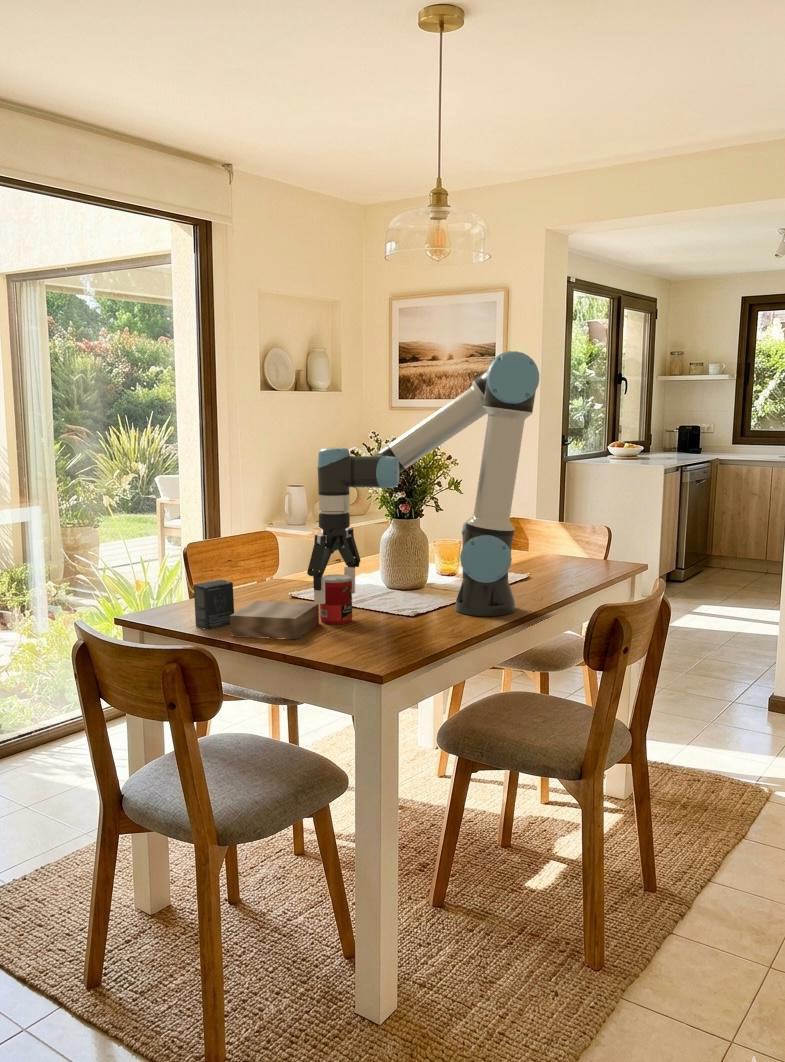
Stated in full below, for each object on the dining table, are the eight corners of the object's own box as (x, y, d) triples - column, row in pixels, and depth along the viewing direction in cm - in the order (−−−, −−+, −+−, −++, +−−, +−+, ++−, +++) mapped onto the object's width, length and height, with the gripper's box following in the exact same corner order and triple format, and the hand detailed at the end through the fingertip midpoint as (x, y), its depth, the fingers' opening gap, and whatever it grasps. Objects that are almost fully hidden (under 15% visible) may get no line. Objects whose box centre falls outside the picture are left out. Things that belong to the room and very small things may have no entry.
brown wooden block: (318, 623, 222) (318, 603, 222) (296, 640, 207) (295, 618, 206) (257, 620, 226) (256, 600, 226) (230, 636, 211) (229, 615, 210)
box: (222, 620, 227) (220, 579, 225) (235, 624, 223) (233, 582, 221) (194, 626, 221) (193, 583, 220) (207, 630, 217) (205, 586, 216)
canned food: (348, 625, 220) (347, 580, 219) (316, 624, 222) (315, 579, 220) (355, 618, 228) (355, 574, 226) (324, 616, 229) (324, 573, 228)
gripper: (348, 505, 234) (349, 587, 237) (291, 516, 212) (293, 606, 215) (373, 507, 230) (374, 590, 233) (318, 518, 209) (319, 609, 212)
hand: (335, 598), depth 224 cm, fingers open, 13 cm apart
